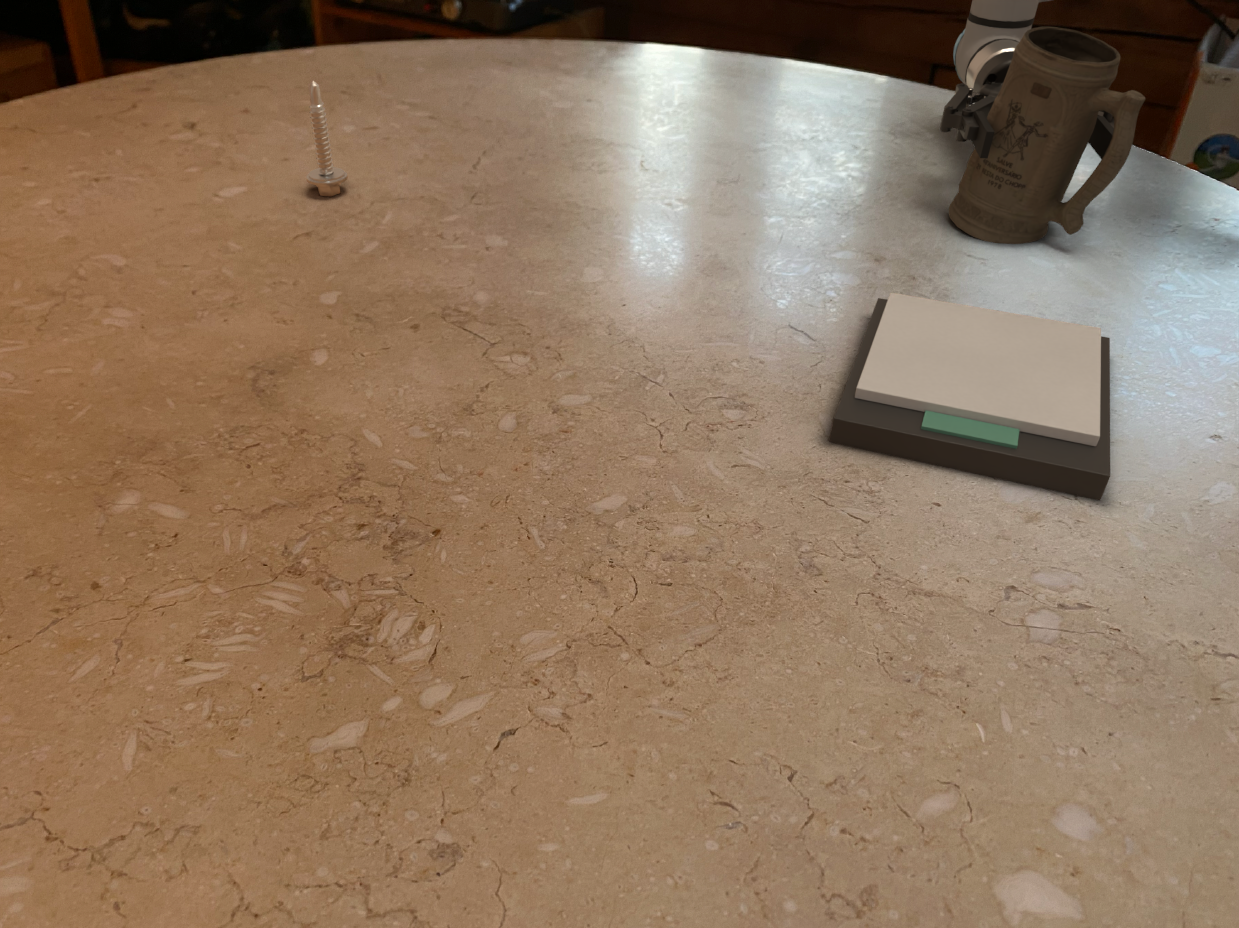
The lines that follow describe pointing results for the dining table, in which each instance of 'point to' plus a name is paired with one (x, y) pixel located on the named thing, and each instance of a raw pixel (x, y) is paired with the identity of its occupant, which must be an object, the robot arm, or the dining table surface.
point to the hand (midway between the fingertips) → (1049, 148)
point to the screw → (323, 149)
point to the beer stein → (1045, 139)
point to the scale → (982, 394)
